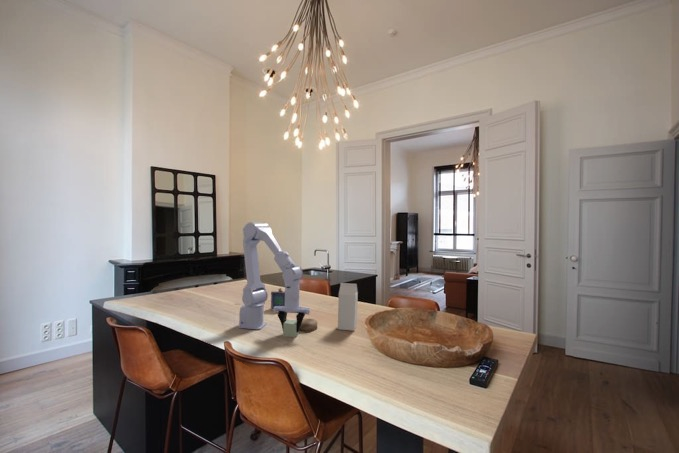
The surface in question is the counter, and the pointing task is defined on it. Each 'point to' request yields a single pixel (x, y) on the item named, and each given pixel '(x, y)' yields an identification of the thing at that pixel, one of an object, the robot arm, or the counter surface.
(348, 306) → the milk carton
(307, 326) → the base
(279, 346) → the counter surface
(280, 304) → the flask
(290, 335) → the cube
